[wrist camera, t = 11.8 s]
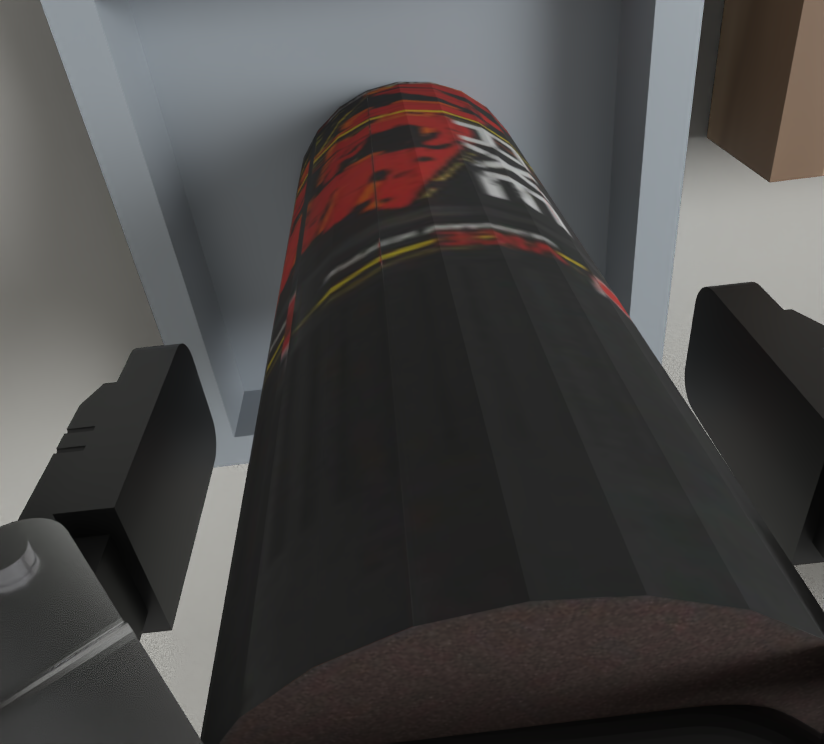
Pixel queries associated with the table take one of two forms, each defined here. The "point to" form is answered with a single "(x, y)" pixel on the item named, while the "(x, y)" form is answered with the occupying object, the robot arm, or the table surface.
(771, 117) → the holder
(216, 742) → the deodorant
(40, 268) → the table surface
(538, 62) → the tray
